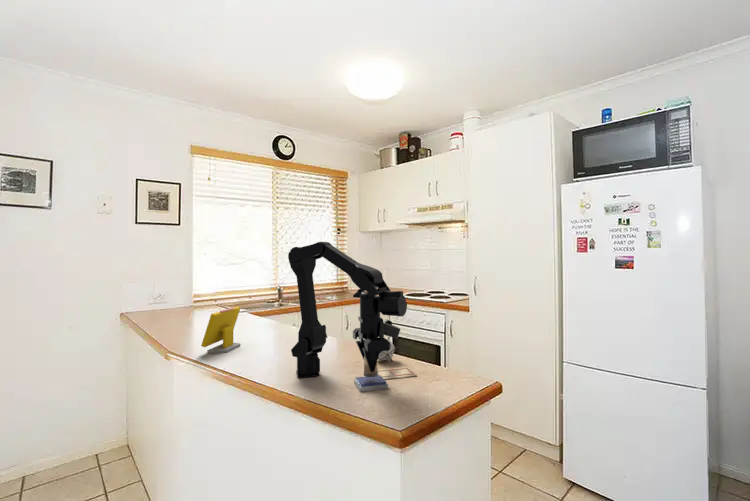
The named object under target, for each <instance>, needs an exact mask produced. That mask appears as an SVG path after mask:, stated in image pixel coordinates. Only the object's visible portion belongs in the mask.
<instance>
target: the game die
mask: <svg viewBox="0 0 750 501" xmlns="http://www.w3.org/2000/svg"><path fill="white" fill-rule="evenodd" d="M387 337H388V338H386V339H387V340H388V341H389V342H390V350H389V351H382V352H381V353H380V354H379V357H378V360H377V363H380V362H381V361H389V360H390V361H391V362H394V361H393V356H394V353H395V351H396V349H398V346H395V345H394V344H393V342H392V341H391V340H390V339H391V337H389V336H387Z"/></svg>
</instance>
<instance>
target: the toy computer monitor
mask: <svg viewBox="0 0 750 501" xmlns="http://www.w3.org/2000/svg"><path fill="white" fill-rule="evenodd" d="M240 311H241V307H240V306H235V307H230V308H226V309H222V310H219V311H217V312H214V313H211V315H210V317H209V320H208V322H207V327H206V330H205V331H204V332H205V333H204V335H203V338H202V343H201V347H203V348H207V347H209V346H211V345H214V344H215V343H218V342H220V341H222V343H221V344H219V345H216V346H214V347H212V348H209V349H208V350H207V352H206V353H207V354H220V353H221V354H222V353H223V354H224V353H229V352H231V351H234V350H235V349H236V348H239V347H241V343H240V342H234V329H235V326H236V323H237V321H238V317H239V314H240Z"/></svg>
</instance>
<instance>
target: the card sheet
mask: <svg viewBox="0 0 750 501" xmlns="http://www.w3.org/2000/svg"><path fill="white" fill-rule="evenodd" d="M378 375H380V376H381V377H382V378H383V379H384V380H385V381H386V380H395V379H404V378H413V377H418V375H417V374H416V373H415V372H413V371H411V369H410V368H409V367H407V366H403V367H393V368H382V369H378Z"/></svg>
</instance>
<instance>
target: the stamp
mask: <svg viewBox="0 0 750 501" xmlns="http://www.w3.org/2000/svg"><path fill="white" fill-rule="evenodd" d="M378 367H379V366H378V362H377V364H376V367H375V371H374V372H371V371H370V369H369V366H368V363H367V360H366V358H365V356H364V360H363V377H365V376H366V377H375V376H378V370H379V369H378Z"/></svg>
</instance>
